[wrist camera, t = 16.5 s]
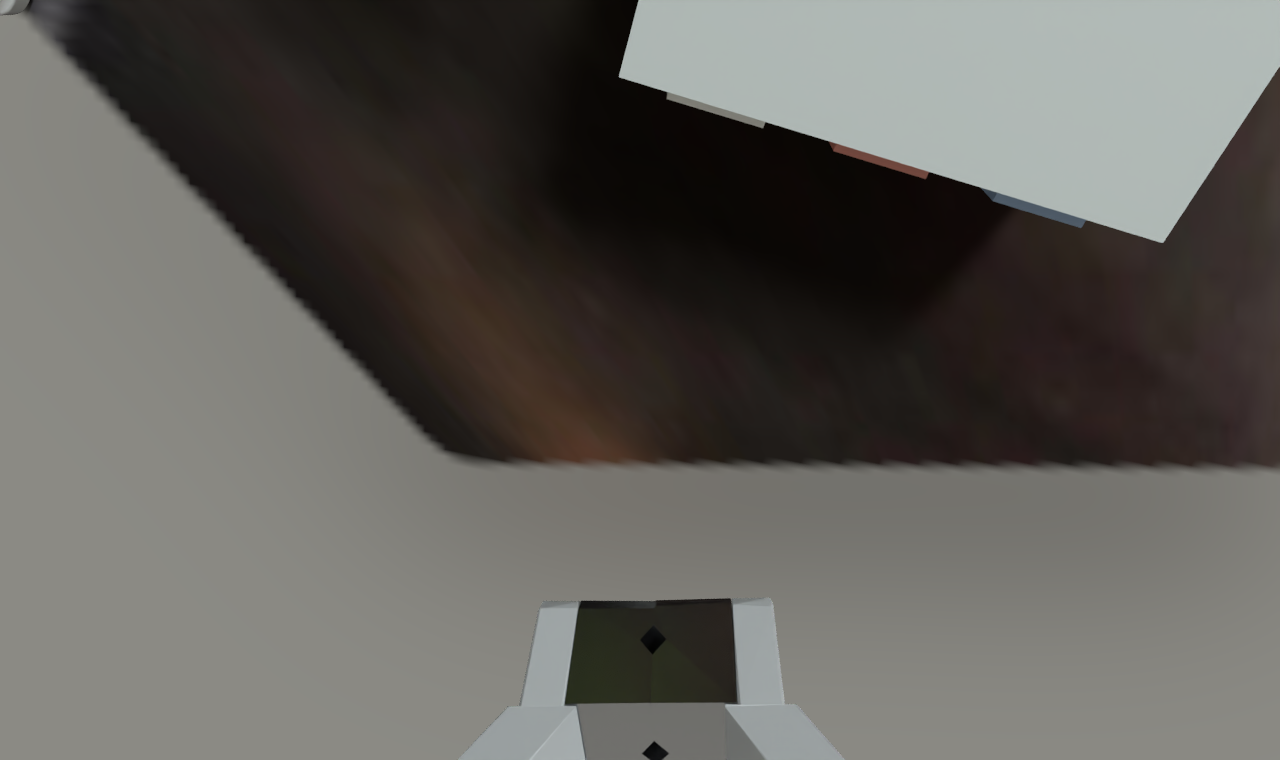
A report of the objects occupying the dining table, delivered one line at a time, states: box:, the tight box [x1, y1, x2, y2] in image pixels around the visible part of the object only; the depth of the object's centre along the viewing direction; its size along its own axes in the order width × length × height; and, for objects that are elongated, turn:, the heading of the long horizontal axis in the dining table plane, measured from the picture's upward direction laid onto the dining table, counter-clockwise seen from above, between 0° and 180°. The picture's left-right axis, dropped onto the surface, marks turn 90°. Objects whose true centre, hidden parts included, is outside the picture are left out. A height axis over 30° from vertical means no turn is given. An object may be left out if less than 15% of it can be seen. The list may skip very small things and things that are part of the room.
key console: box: [619, 0, 1280, 243], centre depth 34 cm, size 22×10×11 cm, turn 74°
